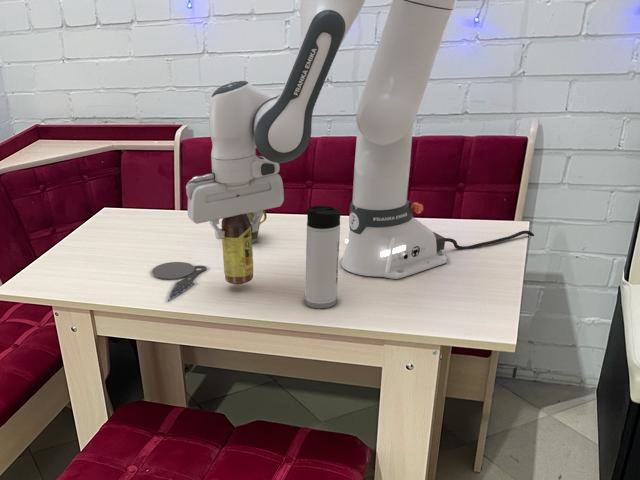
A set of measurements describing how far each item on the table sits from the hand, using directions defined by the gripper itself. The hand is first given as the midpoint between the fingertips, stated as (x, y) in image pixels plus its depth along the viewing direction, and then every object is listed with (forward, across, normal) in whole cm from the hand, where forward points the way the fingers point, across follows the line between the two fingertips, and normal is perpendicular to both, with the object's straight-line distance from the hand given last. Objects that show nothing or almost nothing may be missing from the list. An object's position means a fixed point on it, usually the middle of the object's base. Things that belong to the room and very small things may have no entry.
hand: (237, 234), depth 157 cm
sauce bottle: (+10, 0, 0) cm, 10 cm away
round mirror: (+12, -10, +16) cm, 22 cm away
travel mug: (+13, +11, -15) cm, 23 cm away
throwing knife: (+12, -10, +8) cm, 18 cm away
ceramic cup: (+12, +13, +25) cm, 31 cm away
